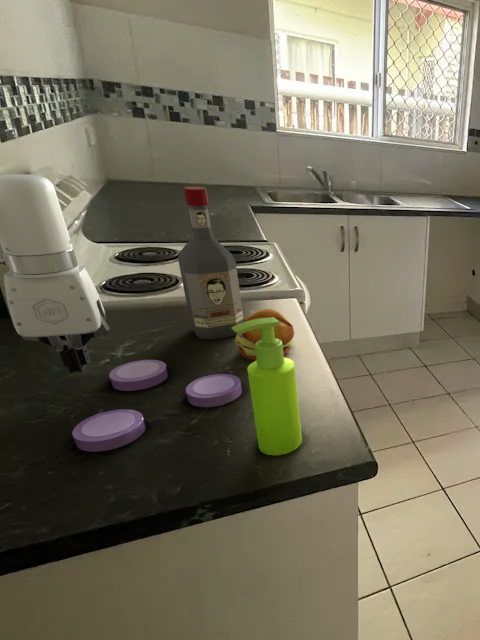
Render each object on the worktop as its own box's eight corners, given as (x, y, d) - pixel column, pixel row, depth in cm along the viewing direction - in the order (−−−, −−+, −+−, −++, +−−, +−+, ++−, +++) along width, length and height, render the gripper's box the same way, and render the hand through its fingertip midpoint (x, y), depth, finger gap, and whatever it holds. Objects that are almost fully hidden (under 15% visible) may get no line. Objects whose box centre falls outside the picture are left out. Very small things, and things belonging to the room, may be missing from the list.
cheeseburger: (271, 335, 103) (274, 296, 98) (304, 360, 99) (308, 321, 94) (225, 350, 95) (226, 307, 90) (259, 378, 91) (261, 335, 86)
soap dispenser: (245, 443, 70) (225, 318, 62) (292, 427, 75) (279, 309, 66) (260, 464, 66) (240, 334, 58) (308, 445, 71) (297, 323, 63)
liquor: (190, 327, 103) (161, 184, 91) (236, 319, 109) (215, 184, 97) (199, 342, 97) (170, 192, 85) (248, 333, 103) (227, 191, 91)
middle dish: (183, 410, 76) (181, 400, 75) (191, 385, 83) (189, 376, 82) (240, 403, 79) (238, 393, 78) (243, 380, 86) (242, 371, 85)
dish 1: (66, 456, 64) (62, 445, 63) (86, 423, 71) (83, 413, 70) (138, 446, 67) (135, 435, 67) (151, 415, 74) (148, 405, 73)
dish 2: (105, 393, 78) (102, 383, 77) (119, 371, 85) (116, 361, 84) (163, 387, 81) (160, 378, 80) (172, 366, 88) (170, 357, 87)
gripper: (-39, 271, 65) (9, 385, 73) (97, 266, 71) (128, 373, 78) (-11, 256, 71) (31, 363, 79) (112, 253, 77) (139, 353, 85)
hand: (79, 368), depth 79 cm, fingers closed
